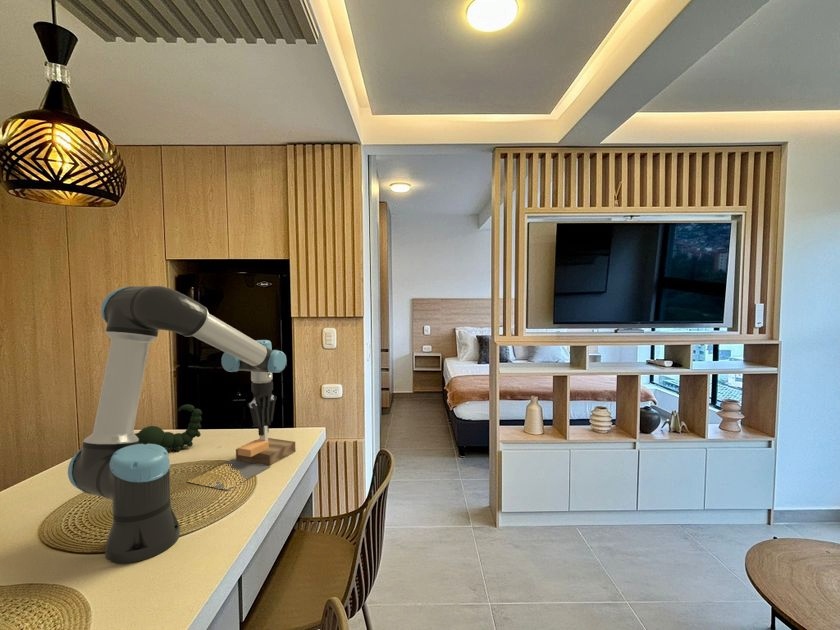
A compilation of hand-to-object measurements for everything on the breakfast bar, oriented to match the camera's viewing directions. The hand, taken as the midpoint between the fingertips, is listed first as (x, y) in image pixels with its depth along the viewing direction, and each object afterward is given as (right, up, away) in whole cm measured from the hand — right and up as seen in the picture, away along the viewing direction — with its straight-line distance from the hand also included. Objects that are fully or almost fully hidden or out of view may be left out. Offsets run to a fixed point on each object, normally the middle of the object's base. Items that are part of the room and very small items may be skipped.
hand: (263, 442), depth 154 cm
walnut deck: (+1, -5, +1) cm, 6 cm away
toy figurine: (-41, -6, +7) cm, 42 cm away
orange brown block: (-2, -2, -5) cm, 5 cm away
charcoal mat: (-6, -6, -15) cm, 17 cm away
